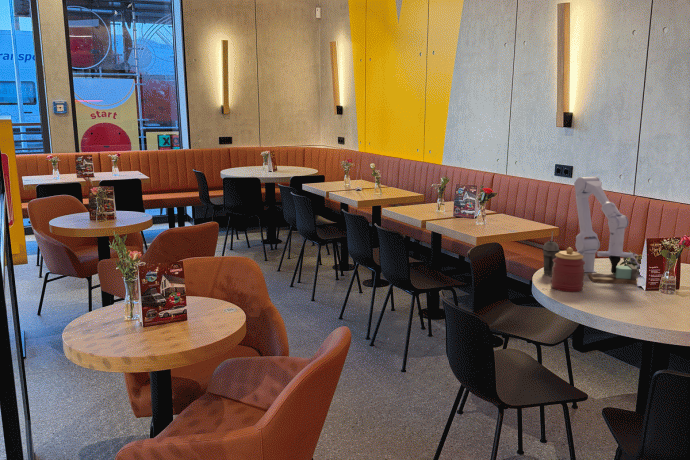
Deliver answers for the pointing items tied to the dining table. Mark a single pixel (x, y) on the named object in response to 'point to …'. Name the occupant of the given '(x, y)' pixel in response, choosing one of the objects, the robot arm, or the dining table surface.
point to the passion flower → (633, 261)
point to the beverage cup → (549, 255)
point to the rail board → (612, 279)
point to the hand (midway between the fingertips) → (613, 272)
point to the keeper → (623, 272)
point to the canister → (568, 271)
